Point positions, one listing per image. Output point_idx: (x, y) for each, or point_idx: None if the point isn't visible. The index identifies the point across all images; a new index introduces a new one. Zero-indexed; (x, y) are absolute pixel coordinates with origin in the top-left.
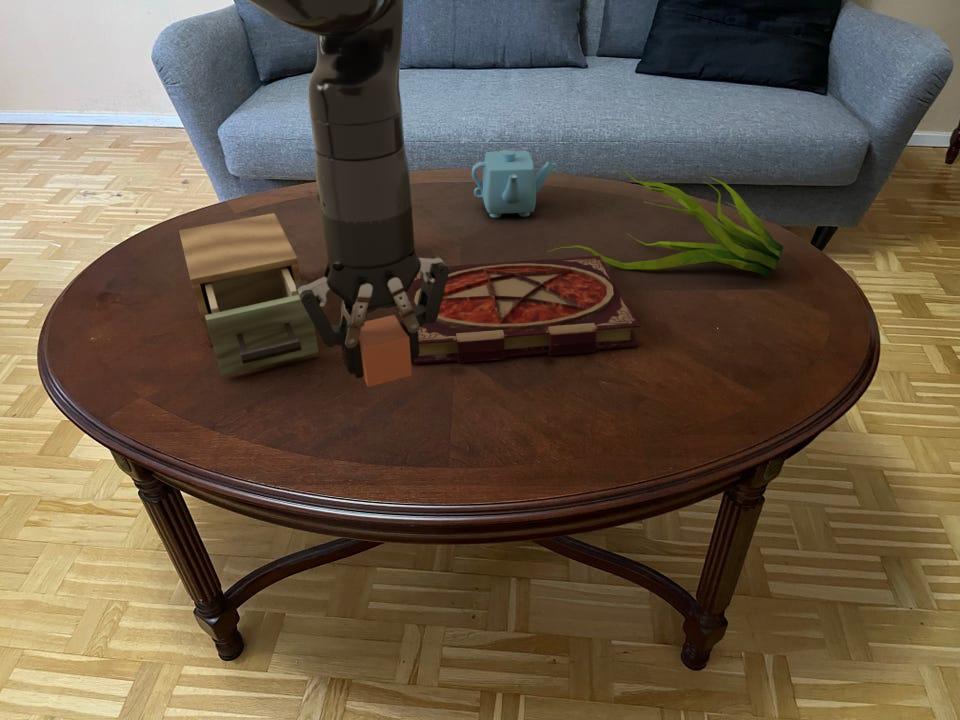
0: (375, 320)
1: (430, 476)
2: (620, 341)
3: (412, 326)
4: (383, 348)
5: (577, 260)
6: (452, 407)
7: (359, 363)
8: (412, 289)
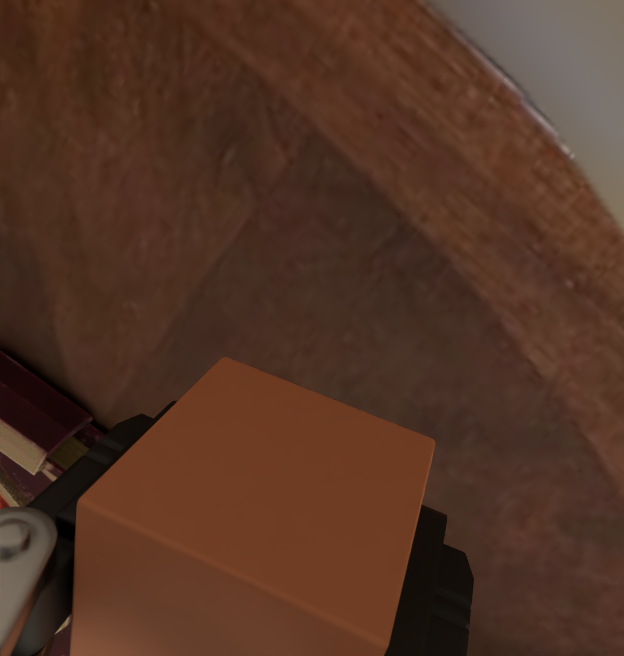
0: None
1: (378, 132)
2: None
3: (7, 553)
4: (262, 551)
5: None
6: (180, 310)
7: (413, 571)
8: (57, 647)
